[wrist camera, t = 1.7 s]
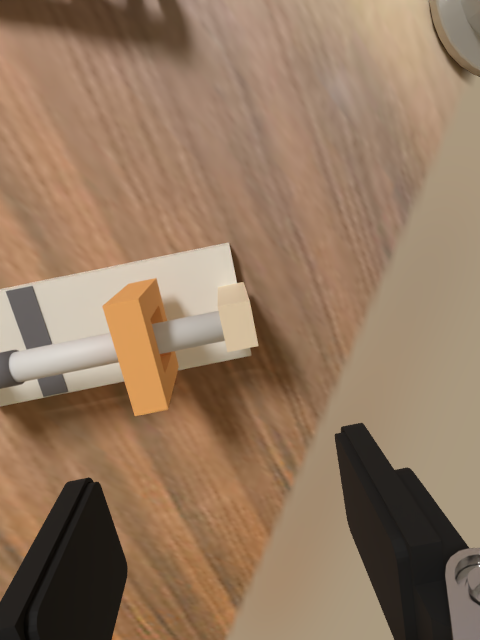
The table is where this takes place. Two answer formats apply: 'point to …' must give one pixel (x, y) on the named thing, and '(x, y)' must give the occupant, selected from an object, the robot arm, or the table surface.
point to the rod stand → (93, 332)
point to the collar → (141, 346)
